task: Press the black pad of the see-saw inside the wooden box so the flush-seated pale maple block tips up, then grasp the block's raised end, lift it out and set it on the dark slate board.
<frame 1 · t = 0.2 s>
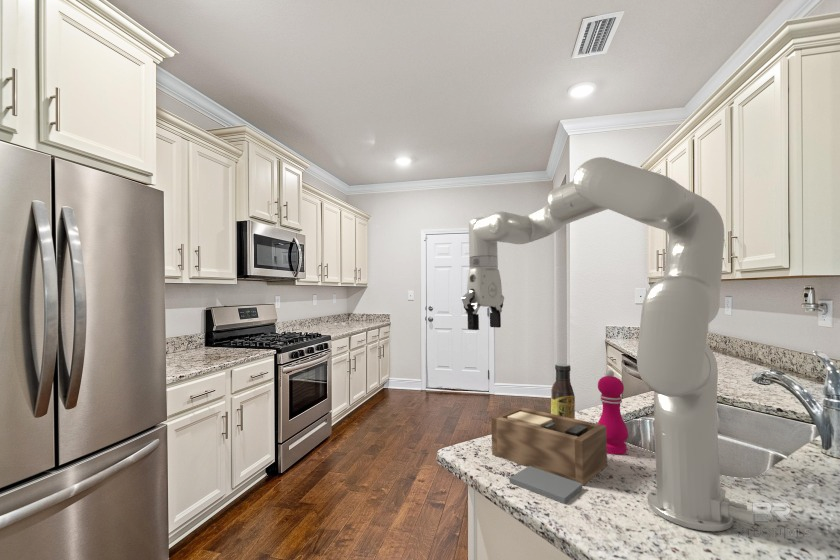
hand: (484, 328, 103), 31 cm above the counter, tool pointing down, fingers open, 9 cm apart
slate board: (545, 485, 80), on the counter
wooden box: (554, 462, 91), on the counter
rocker: (545, 429, 93), point 7 cm above the counter, hinge at 0.0°, touching maple block
pepper mill: (612, 450, 98), on the counter
sauce bottle: (563, 437, 107), on the counter
maple block: (529, 427, 96), point 6 cm above the counter, touching rocker
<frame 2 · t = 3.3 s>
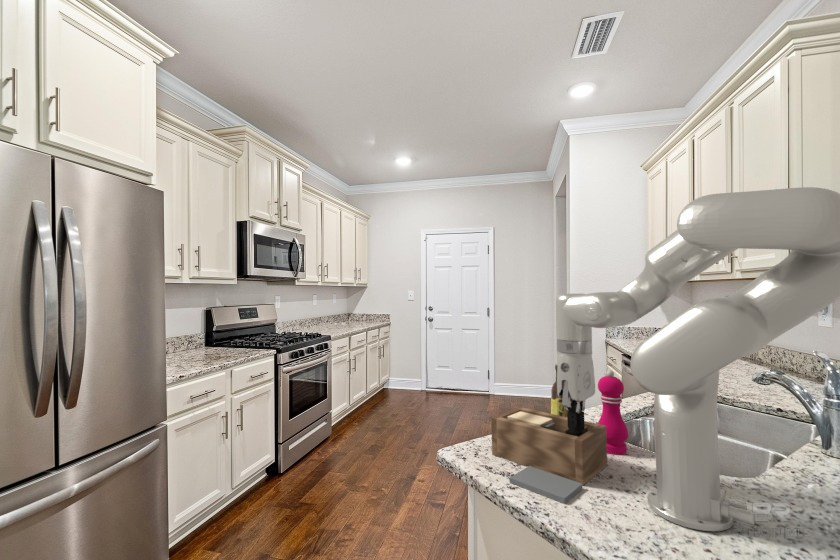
hand: (576, 428, 88), 9 cm above the counter, tool pointing down, fingers closed
rocker: (546, 429, 93), point 7 cm above the counter, hinge at -0.1°, touching gripper, maple block
everything else where it was.
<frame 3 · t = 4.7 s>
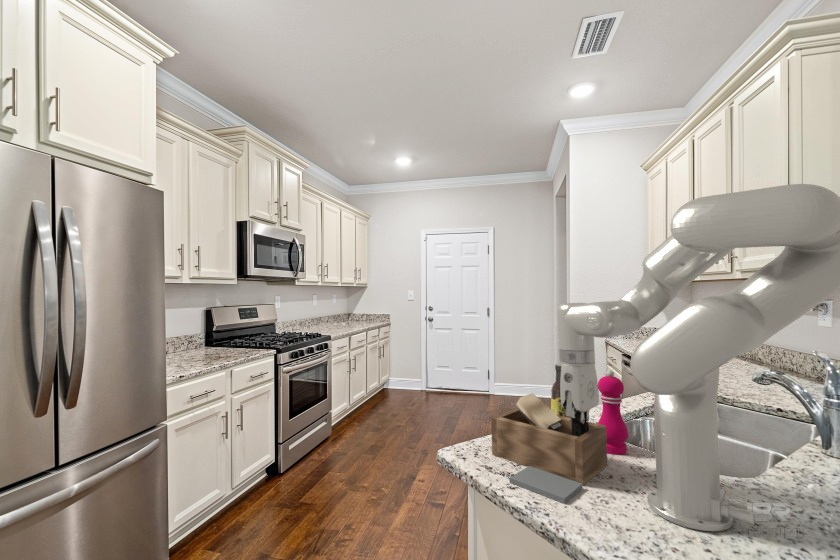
hand: (580, 439, 87), 7 cm above the counter, tool pointing down, fingers closed
rocker: (549, 426, 92), point 8 cm above the counter, hinge at -34.7°, touching maple block
maple block: (535, 415, 95), point 10 cm above the counter, tilted 35°, touching rocker
everything else where it was.
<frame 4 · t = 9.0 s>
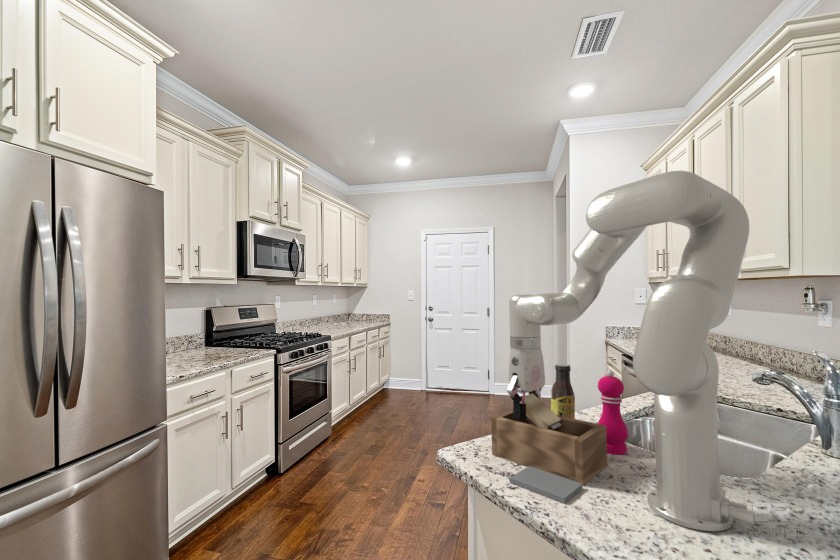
hand: (527, 415, 97), 9 cm above the counter, tool pointing down, fingers closed on maple block, 6 cm apart
rocker: (549, 426, 92), point 8 cm above the counter, hinge at -33.9°
maple block: (535, 415, 95), point 10 cm above the counter, tilted 34°, touching gripper
everything else where it was.
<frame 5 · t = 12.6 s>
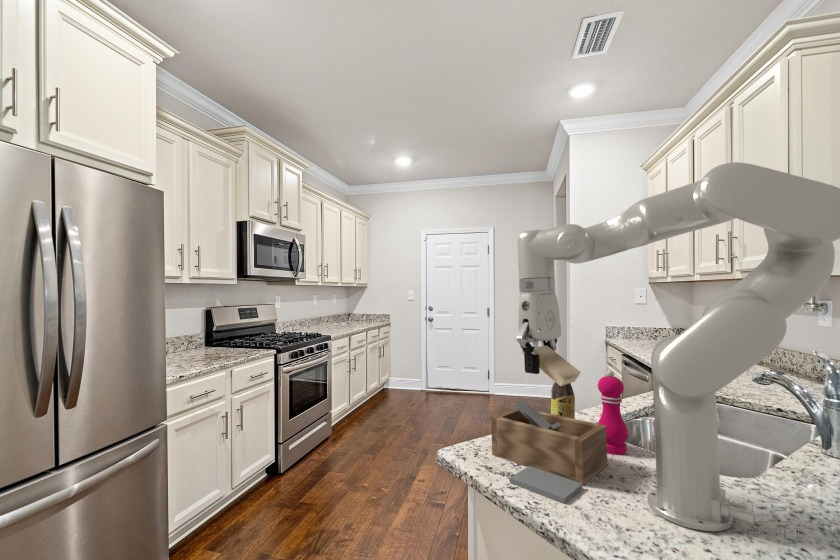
hand: (540, 370, 83), 23 cm above the counter, tool pointing down, fingers closed on maple block, 6 cm apart
maple block: (550, 369, 82), point 24 cm above the counter, tilted 33°, touching gripper
everything else where it was.
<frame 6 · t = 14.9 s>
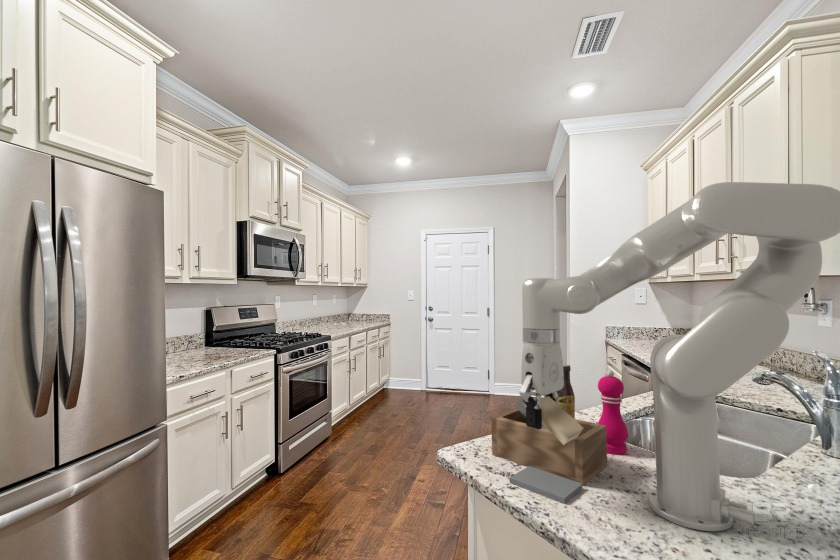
hand: (542, 422, 81), 13 cm above the counter, tool pointing down, fingers closed on maple block, 6 cm apart
maple block: (552, 423, 79), point 13 cm above the counter, tilted 35°, touching gripper
everything else where it was.
when the fingers open (6 cm above the counter, at t = 16.7 s): maple block drops 5 cm, resting on slate board.
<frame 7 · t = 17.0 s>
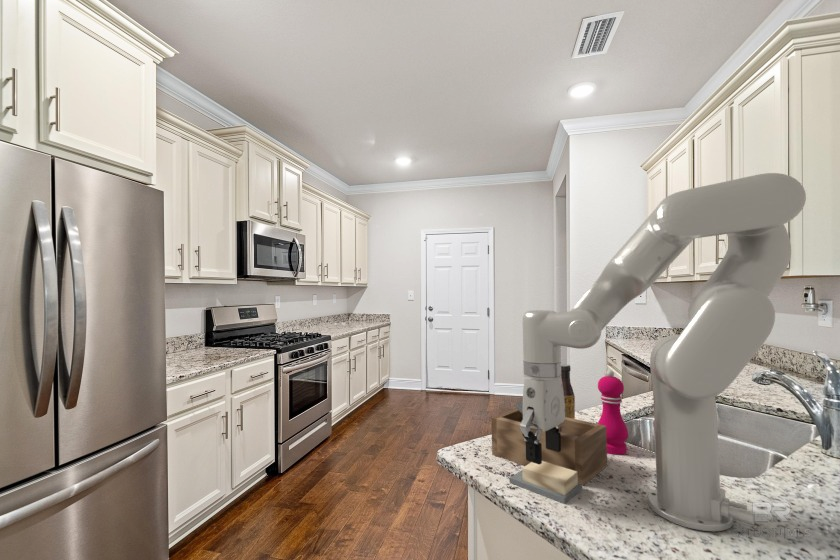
hand: (543, 455, 80), 6 cm above the counter, tool pointing down, fingers open, 7 cm apart
maple block: (549, 482, 79), point 1 cm above the counter, touching slate board
everything else where it was.
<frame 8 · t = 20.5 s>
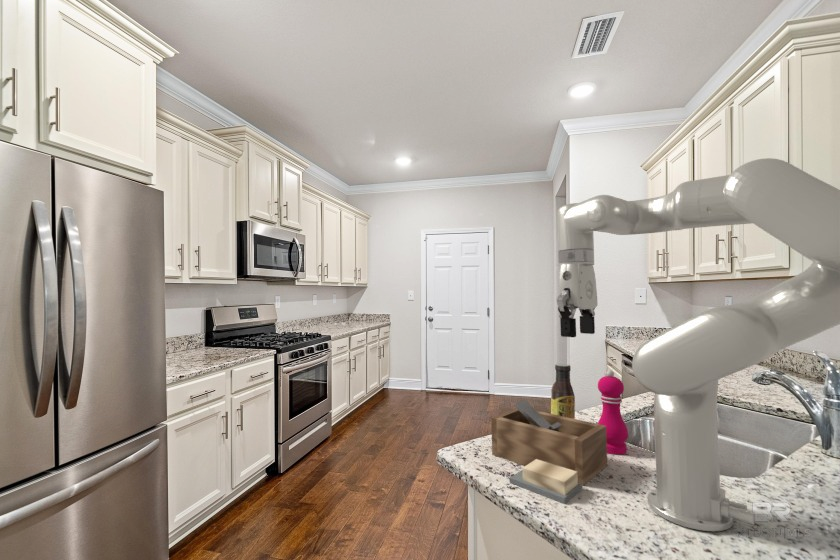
hand: (578, 335, 87), 30 cm above the counter, tool pointing down, fingers open, 9 cm apart
nothing on the counter moved.
at the end: maple block inside the target area on the slate board (1.0 cm from its centre), point 1.0 cm above the slate board's base; maple block touching slate board; the gripper is holding nothing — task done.
